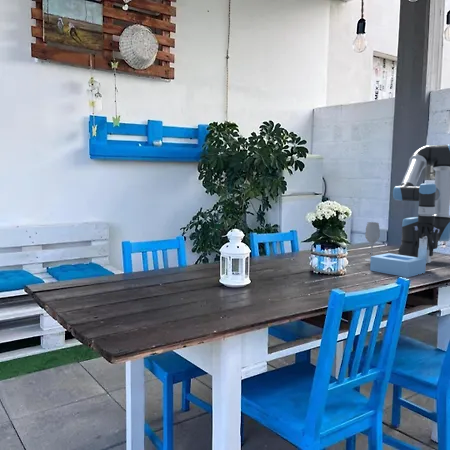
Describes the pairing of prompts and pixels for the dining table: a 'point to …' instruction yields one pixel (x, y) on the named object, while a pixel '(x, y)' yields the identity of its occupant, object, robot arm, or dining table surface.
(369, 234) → the wineglass
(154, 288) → the dining table surface
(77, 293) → the dining table surface
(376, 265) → the well block
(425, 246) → the light grey tall block
